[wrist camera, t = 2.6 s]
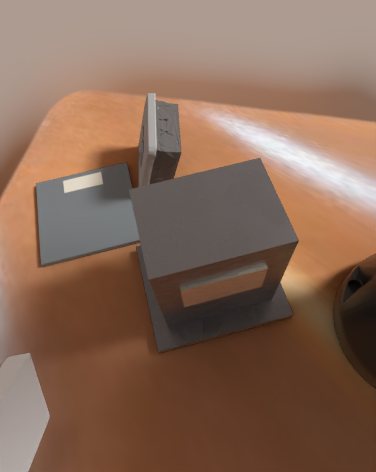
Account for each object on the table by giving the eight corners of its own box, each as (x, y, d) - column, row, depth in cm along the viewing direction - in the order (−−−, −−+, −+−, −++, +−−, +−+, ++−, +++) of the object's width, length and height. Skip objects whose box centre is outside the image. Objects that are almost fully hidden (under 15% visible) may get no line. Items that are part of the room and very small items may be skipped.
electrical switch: (139, 146, 50) (132, 90, 42) (176, 145, 50) (177, 89, 42) (139, 202, 45) (131, 151, 37) (180, 201, 45) (181, 150, 37)
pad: (127, 165, 48) (126, 161, 47) (144, 241, 42) (143, 238, 42) (38, 186, 47) (35, 183, 47) (43, 266, 41) (40, 264, 41)
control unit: (252, 221, 43) (268, 136, 30) (291, 317, 37) (331, 259, 25) (137, 250, 42) (106, 174, 29) (159, 353, 36) (132, 312, 24)
